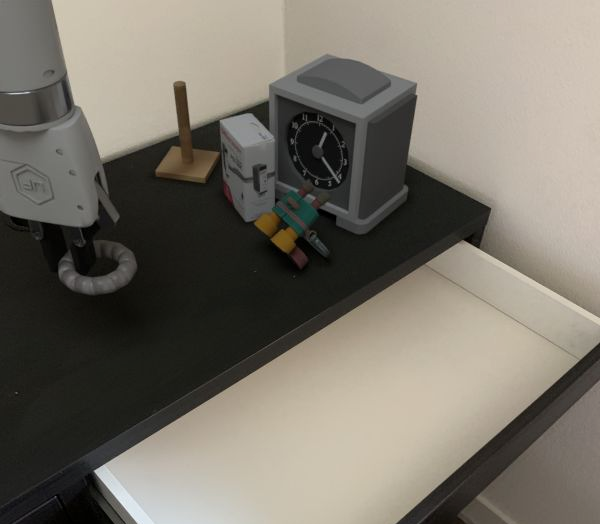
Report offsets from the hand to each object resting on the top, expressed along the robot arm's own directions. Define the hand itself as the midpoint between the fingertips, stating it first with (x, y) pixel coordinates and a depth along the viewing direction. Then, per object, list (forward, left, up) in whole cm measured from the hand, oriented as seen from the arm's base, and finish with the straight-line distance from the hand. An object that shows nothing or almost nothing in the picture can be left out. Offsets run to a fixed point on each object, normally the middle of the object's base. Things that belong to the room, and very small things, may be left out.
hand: (73, 266), depth 71 cm
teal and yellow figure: (+20, +21, -11) cm, 30 cm away
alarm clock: (+23, +38, -11) cm, 45 cm away
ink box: (+10, +32, -11) cm, 35 cm away
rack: (-1, +40, -11) cm, 41 cm away
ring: (+3, 0, 0) cm, 3 cm away
